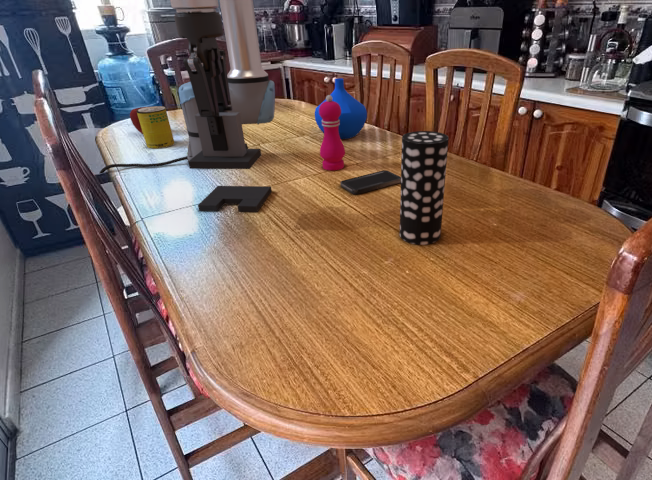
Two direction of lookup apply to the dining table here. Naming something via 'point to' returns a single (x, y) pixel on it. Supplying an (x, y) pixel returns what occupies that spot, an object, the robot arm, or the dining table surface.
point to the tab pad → (225, 161)
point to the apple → (136, 119)
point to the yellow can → (155, 127)
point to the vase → (345, 112)
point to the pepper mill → (331, 136)
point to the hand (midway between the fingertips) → (223, 147)
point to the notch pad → (236, 198)
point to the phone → (370, 182)
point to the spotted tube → (422, 186)
